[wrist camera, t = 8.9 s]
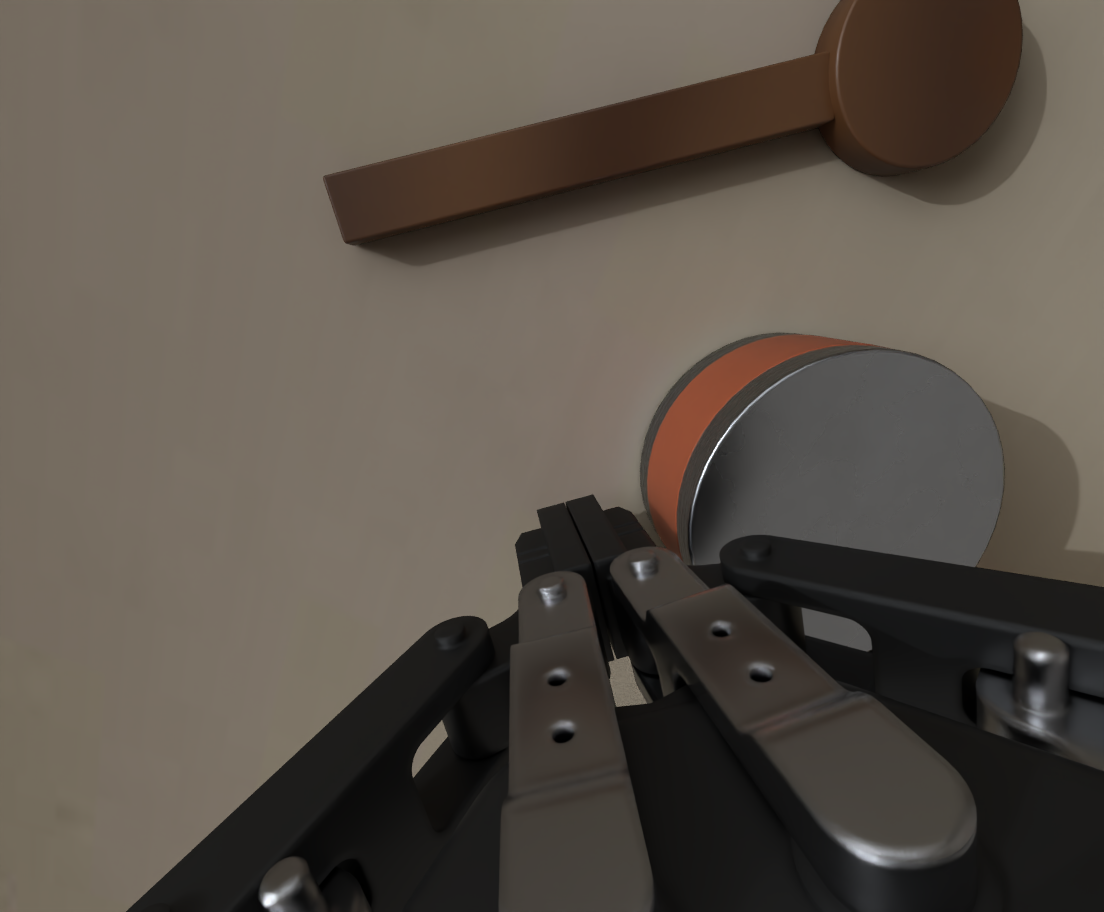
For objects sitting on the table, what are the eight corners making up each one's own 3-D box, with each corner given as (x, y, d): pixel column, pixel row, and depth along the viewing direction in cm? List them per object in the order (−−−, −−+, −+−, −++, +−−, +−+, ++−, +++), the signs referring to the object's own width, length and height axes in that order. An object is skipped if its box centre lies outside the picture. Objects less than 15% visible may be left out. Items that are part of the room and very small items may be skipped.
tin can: (611, 376, 15) (655, 408, 11) (873, 298, 15) (1003, 303, 11) (668, 608, 17) (721, 701, 13) (895, 537, 17) (1011, 607, 14)
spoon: (373, 310, 14) (364, 313, 13) (305, 108, 13) (289, 92, 12) (984, 153, 15) (1023, 142, 13) (982, -56, 13) (1025, -86, 12)
